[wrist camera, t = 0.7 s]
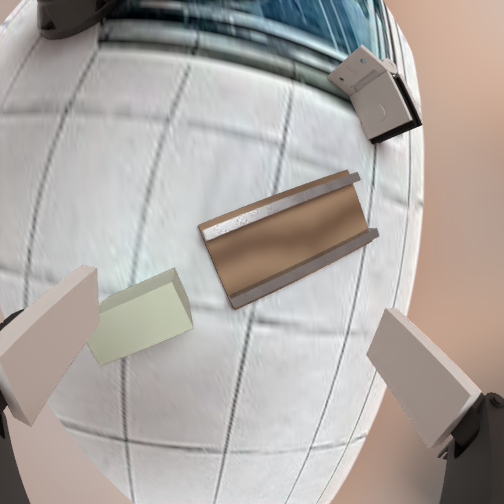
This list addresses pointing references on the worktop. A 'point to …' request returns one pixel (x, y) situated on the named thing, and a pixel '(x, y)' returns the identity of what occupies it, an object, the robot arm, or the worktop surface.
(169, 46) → the worktop surface
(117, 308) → the door panel
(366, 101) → the hinge
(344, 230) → the track
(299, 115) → the worktop surface
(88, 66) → the worktop surface
